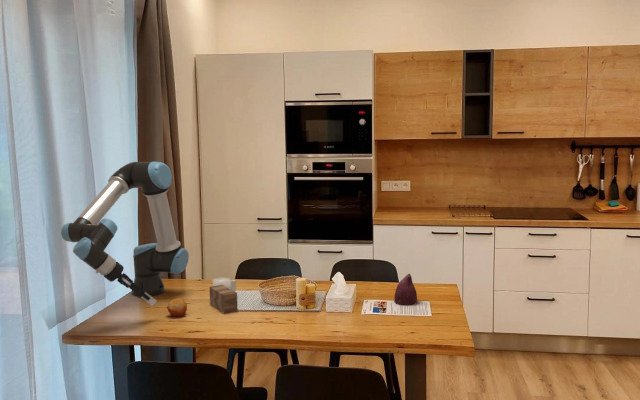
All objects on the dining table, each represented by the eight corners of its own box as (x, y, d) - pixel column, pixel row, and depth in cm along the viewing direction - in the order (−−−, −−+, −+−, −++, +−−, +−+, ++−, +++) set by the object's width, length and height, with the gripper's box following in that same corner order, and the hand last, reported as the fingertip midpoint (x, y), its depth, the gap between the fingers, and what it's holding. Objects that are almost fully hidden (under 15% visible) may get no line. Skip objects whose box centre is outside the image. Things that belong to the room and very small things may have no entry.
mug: (210, 297, 270) (209, 278, 269) (232, 294, 276) (231, 275, 275) (217, 302, 263) (216, 282, 262) (239, 298, 269) (238, 278, 268)
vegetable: (420, 310, 256) (428, 279, 251) (399, 310, 252) (407, 279, 247) (408, 298, 265) (417, 268, 260) (388, 298, 261) (396, 268, 256)
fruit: (191, 307, 251) (187, 295, 246) (186, 322, 245) (182, 309, 240) (173, 307, 252) (168, 294, 247) (167, 322, 245) (163, 309, 241)
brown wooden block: (210, 304, 260) (209, 286, 259) (222, 302, 263) (222, 284, 262) (224, 313, 247) (223, 295, 246) (237, 311, 250) (236, 292, 249)
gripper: (99, 272, 233) (143, 306, 244) (106, 279, 222) (152, 314, 233) (112, 258, 235) (155, 292, 246) (120, 263, 224) (165, 299, 235)
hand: (154, 303), depth 239 cm, fingers closed
